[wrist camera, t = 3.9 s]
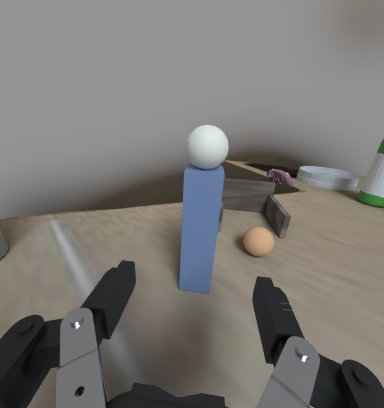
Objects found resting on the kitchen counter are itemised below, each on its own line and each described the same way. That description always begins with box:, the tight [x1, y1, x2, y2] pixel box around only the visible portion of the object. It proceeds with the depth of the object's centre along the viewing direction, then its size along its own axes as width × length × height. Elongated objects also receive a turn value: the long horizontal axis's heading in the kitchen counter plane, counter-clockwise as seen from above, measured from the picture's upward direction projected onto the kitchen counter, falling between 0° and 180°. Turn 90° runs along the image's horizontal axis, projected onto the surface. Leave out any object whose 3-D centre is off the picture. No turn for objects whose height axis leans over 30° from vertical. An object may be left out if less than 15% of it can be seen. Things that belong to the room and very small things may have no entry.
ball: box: [243, 227, 274, 256], centre depth 33 cm, size 5×5×5 cm
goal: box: [217, 178, 291, 238], centre depth 44 cm, size 13×14×8 cm
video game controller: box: [267, 169, 294, 187], centre depth 75 cm, size 10×5×7 cm, turn 31°
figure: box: [179, 125, 228, 294], centre depth 23 cm, size 4×4×20 cm
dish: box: [296, 166, 360, 191], centre depth 83 cm, size 22×22×5 cm
